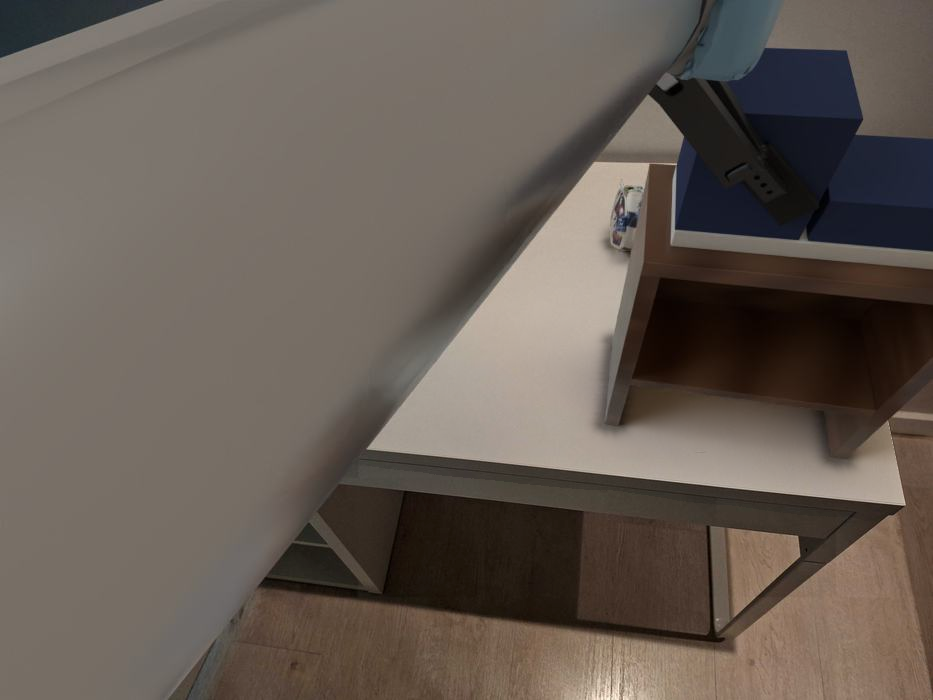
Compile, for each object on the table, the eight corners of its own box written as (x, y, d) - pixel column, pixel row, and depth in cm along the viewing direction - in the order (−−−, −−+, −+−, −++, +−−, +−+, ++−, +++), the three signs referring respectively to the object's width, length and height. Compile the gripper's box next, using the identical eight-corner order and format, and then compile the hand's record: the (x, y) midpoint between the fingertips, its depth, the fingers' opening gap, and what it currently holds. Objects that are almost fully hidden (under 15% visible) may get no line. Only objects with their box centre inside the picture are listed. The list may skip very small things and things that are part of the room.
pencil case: (608, 264, 84) (617, 212, 75) (606, 221, 88) (614, 168, 80) (772, 266, 81) (800, 212, 73) (761, 222, 86) (785, 167, 78)
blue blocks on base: (670, 246, 48) (708, 113, 38) (672, 179, 52) (707, 44, 42) (982, 274, 43) (1116, 133, 34) (956, 199, 48) (1069, 55, 38)
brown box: (604, 423, 70) (643, 262, 47) (612, 341, 76) (649, 163, 53) (845, 459, 65) (1021, 298, 42) (832, 367, 72) (978, 184, 48)
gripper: (566, -93, 42) (740, 119, 53) (521, 73, 31) (751, 299, 42) (657, -194, 37) (830, 64, 47) (640, -36, 26) (871, 254, 36)
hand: (793, 174), depth 44 cm, fingers closed on blue blocks on base, 8 cm apart
